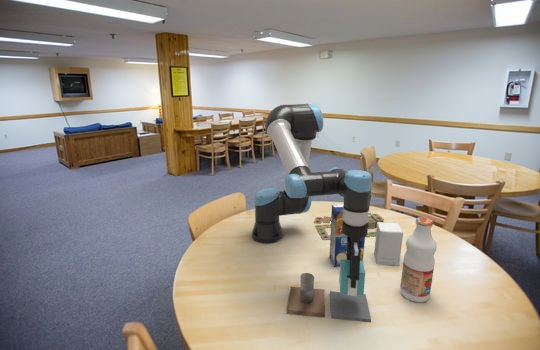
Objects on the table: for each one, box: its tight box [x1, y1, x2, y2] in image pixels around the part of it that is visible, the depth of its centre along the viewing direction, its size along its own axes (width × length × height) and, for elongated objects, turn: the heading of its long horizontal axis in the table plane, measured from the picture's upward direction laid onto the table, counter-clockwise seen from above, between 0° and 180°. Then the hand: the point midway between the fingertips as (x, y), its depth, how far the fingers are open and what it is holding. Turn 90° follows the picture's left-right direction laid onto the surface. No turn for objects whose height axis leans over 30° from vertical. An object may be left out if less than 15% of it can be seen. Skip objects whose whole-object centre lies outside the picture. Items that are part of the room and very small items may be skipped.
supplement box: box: [374, 222, 404, 267], centre depth 126 cm, size 9×9×15 cm
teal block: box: [338, 259, 366, 296], centre depth 97 cm, size 7×7×8 cm
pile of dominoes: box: [313, 213, 385, 241], centre depth 159 cm, size 35×27×6 cm
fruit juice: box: [399, 217, 437, 303], centre depth 103 cm, size 9×9×28 cm
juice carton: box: [329, 203, 366, 268], centre depth 124 cm, size 12×8×24 cm, turn 94°
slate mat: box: [329, 290, 372, 323], centre depth 101 cm, size 12×12×1 cm
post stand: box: [286, 272, 326, 318], centre depth 101 cm, size 12×12×10 cm
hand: (350, 287), depth 98 cm, fingers closed on teal block, 7 cm apart
